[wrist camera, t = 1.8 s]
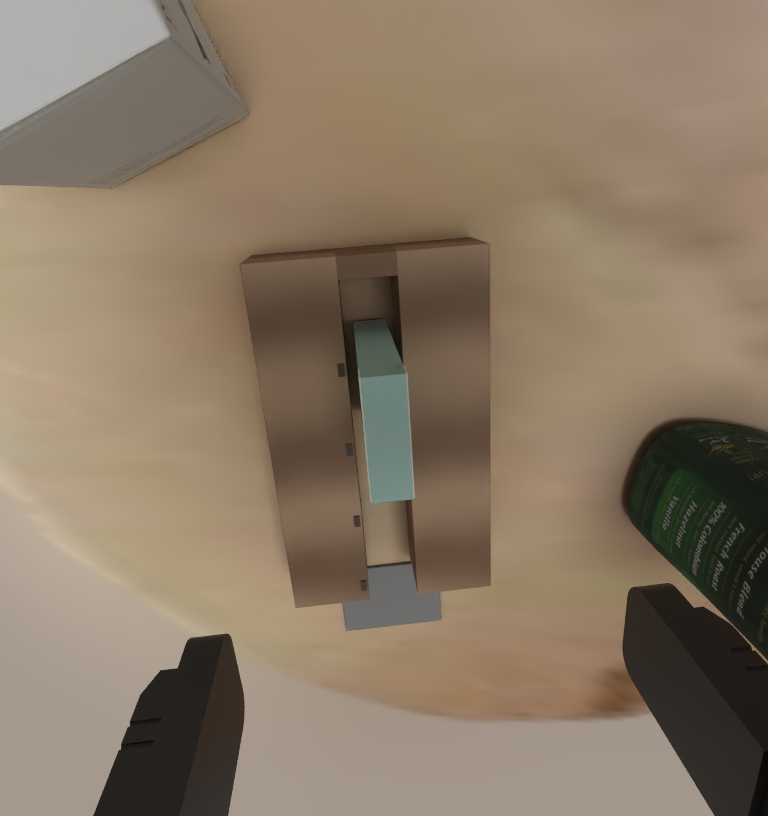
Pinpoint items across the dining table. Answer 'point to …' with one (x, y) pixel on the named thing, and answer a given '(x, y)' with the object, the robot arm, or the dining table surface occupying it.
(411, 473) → the stub
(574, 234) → the dining table surface
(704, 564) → the coffee jar
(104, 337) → the dining table surface
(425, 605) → the mat
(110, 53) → the supplement box
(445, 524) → the wooden slotted block
